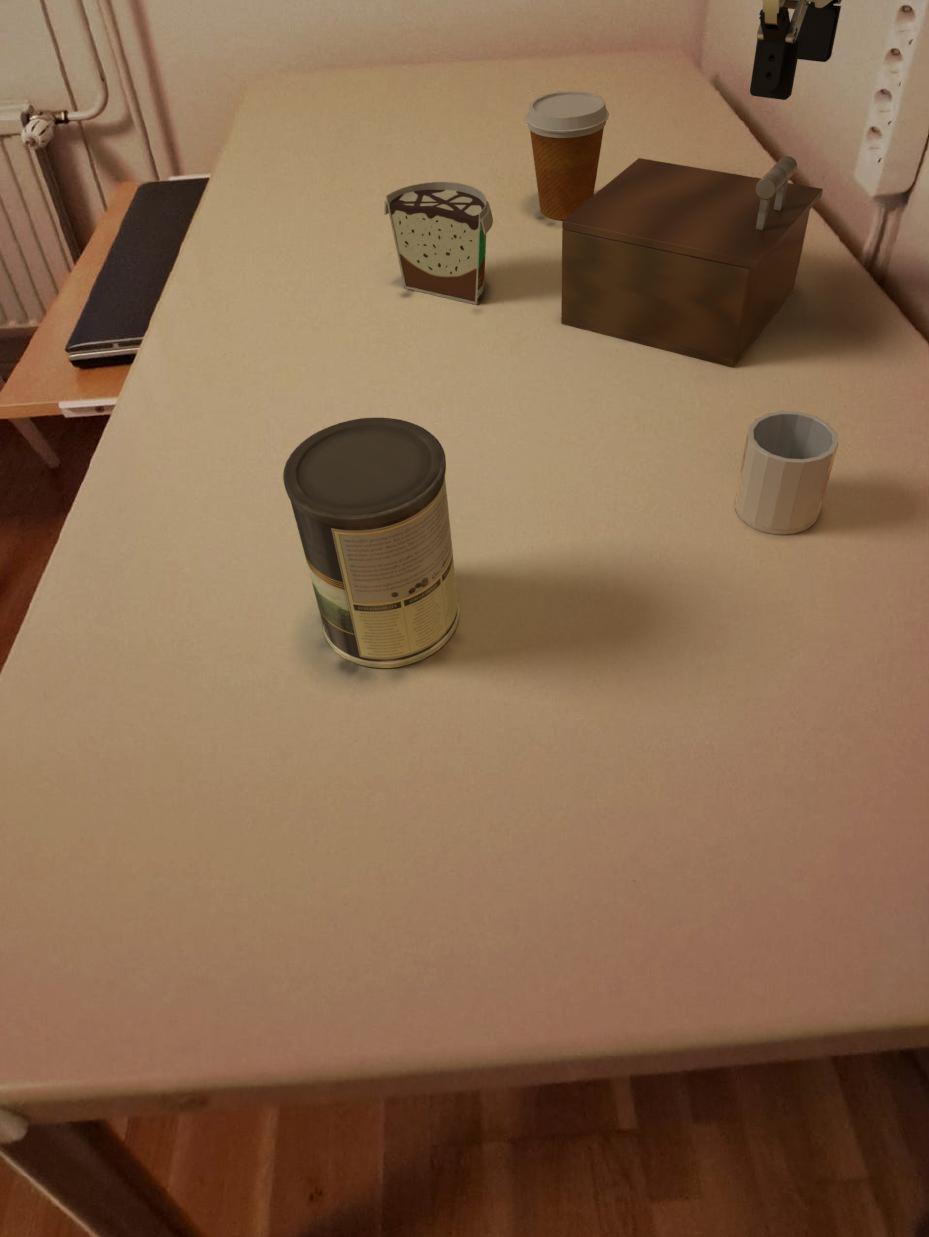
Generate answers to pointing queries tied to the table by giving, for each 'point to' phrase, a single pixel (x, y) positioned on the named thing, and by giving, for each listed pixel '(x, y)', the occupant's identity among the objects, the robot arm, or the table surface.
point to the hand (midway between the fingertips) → (790, 77)
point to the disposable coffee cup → (566, 148)
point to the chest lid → (698, 210)
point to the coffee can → (376, 538)
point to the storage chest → (674, 294)
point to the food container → (441, 238)
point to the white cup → (785, 471)
